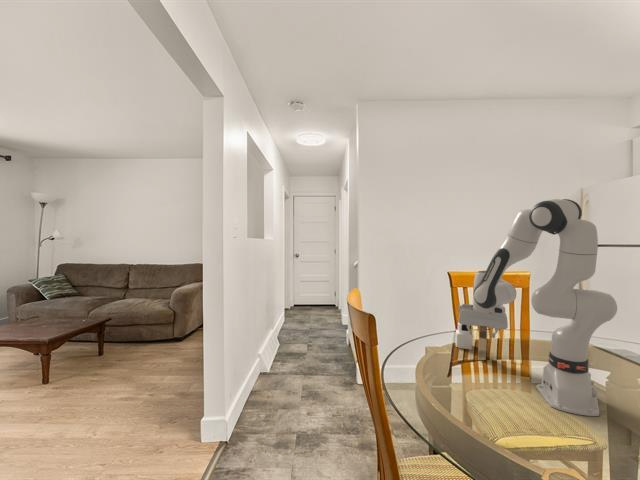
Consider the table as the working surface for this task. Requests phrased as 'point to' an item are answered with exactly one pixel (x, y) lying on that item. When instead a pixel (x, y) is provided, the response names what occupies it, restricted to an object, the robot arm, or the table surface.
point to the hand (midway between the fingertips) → (481, 335)
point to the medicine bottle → (463, 337)
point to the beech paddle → (482, 342)
